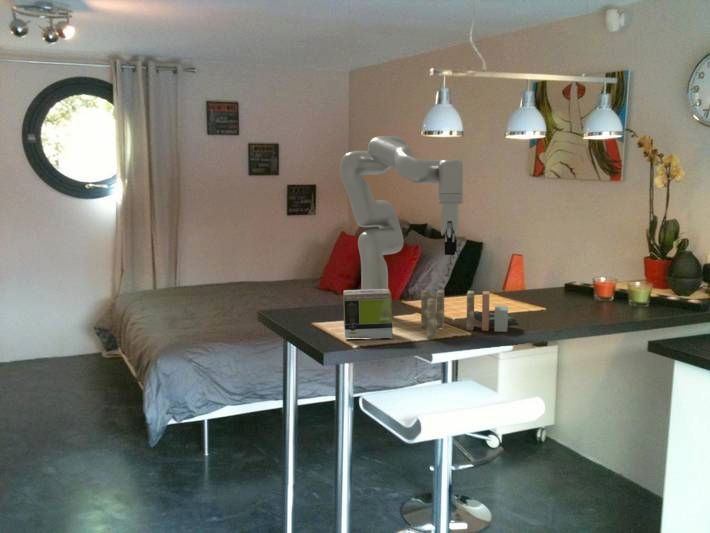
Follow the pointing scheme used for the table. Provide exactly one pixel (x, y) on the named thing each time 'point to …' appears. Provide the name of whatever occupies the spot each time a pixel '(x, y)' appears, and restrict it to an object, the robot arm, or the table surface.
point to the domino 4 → (470, 310)
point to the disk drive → (492, 318)
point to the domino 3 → (440, 309)
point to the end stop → (501, 318)
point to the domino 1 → (424, 307)
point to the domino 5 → (485, 310)
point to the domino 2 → (431, 318)
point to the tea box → (368, 313)
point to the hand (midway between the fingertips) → (450, 253)
